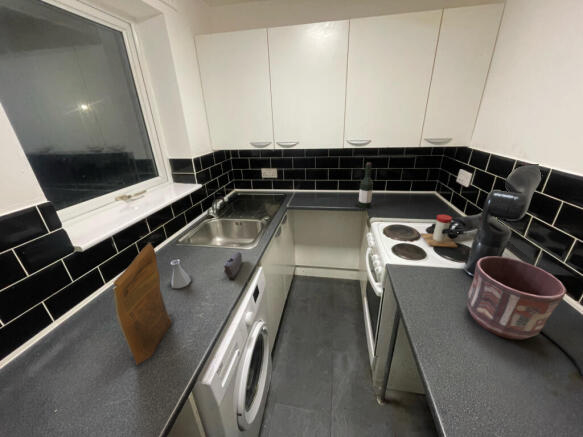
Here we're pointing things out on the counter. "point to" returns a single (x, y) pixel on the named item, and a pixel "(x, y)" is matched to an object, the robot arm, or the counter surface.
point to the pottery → (512, 297)
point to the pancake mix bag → (141, 305)
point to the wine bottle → (366, 189)
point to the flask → (179, 275)
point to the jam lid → (444, 218)
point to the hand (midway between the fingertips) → (437, 229)
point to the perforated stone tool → (233, 265)
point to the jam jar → (440, 231)
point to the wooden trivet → (434, 243)
